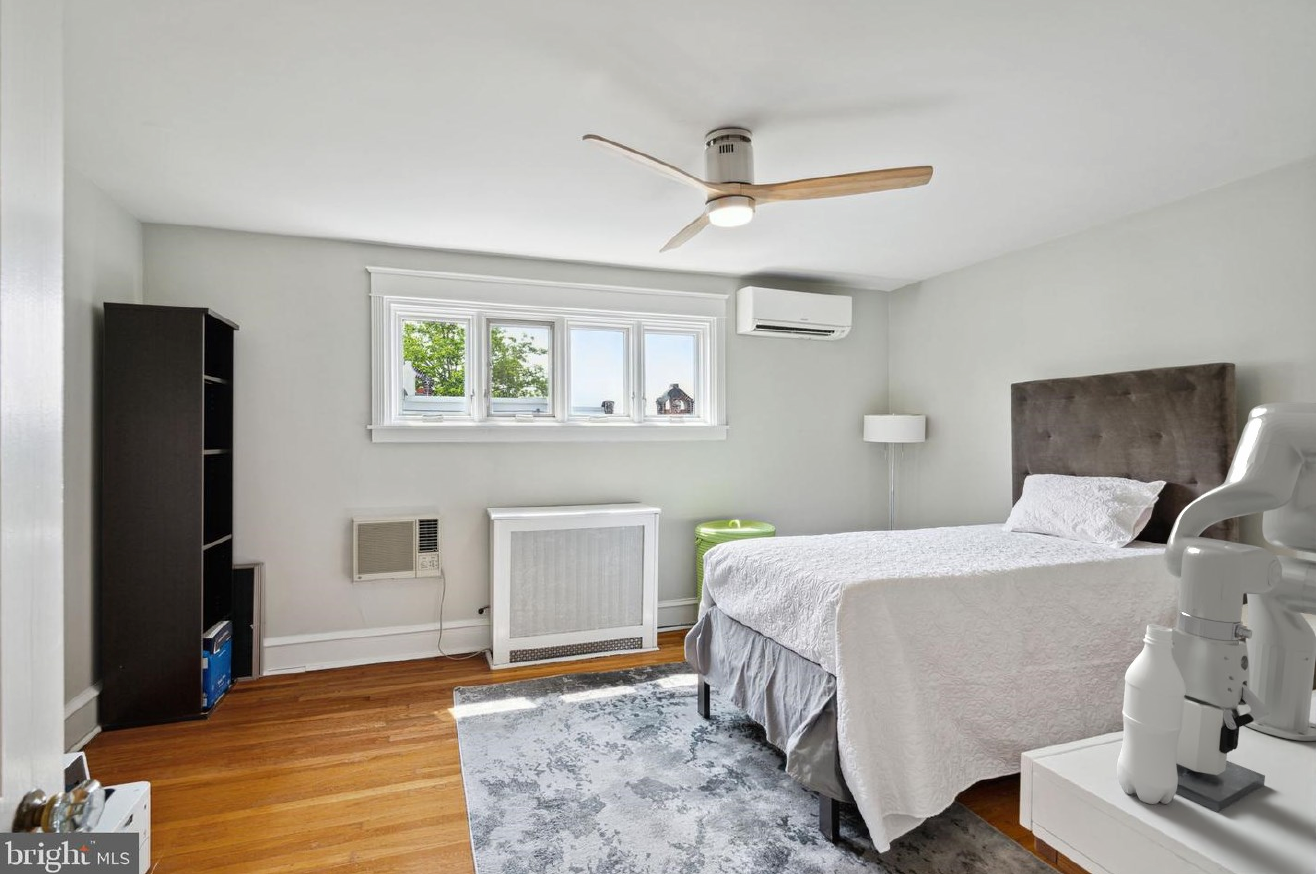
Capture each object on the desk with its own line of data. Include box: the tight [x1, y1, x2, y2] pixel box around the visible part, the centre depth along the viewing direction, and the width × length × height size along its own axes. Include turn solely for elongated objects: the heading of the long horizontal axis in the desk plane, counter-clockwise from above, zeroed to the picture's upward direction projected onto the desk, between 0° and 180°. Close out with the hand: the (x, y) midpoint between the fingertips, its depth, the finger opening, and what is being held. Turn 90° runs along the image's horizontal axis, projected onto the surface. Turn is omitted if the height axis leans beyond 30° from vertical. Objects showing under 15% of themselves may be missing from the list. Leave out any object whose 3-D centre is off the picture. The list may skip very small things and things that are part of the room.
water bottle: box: [1116, 623, 1186, 805], centre depth 97 cm, size 7×7×25 cm
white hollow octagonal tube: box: [1176, 696, 1228, 775], centre depth 103 cm, size 7×7×10 cm
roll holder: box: [1175, 759, 1266, 813], centre depth 103 cm, size 16×12×11 cm
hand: (1197, 739), depth 103 cm, fingers closed on white hollow octagonal tube, 6 cm apart
